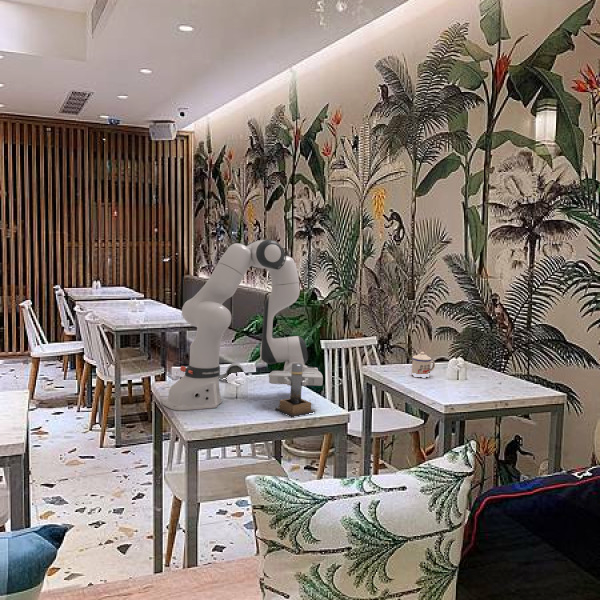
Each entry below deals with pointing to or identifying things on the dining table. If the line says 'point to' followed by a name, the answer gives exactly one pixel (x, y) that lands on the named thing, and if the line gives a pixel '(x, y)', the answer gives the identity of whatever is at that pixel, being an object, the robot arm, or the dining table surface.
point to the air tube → (296, 383)
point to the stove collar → (294, 408)
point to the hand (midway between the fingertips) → (296, 383)
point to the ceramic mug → (232, 370)
